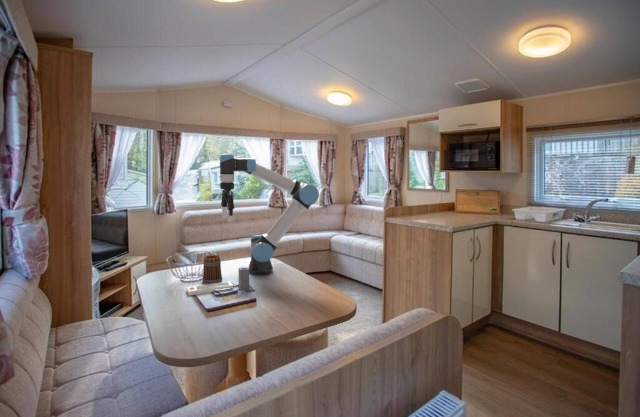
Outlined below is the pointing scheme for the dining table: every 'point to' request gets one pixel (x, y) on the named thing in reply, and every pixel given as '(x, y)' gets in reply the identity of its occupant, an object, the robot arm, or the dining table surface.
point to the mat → (250, 289)
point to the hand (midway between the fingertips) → (227, 219)
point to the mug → (212, 269)
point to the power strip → (207, 288)
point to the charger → (244, 278)
